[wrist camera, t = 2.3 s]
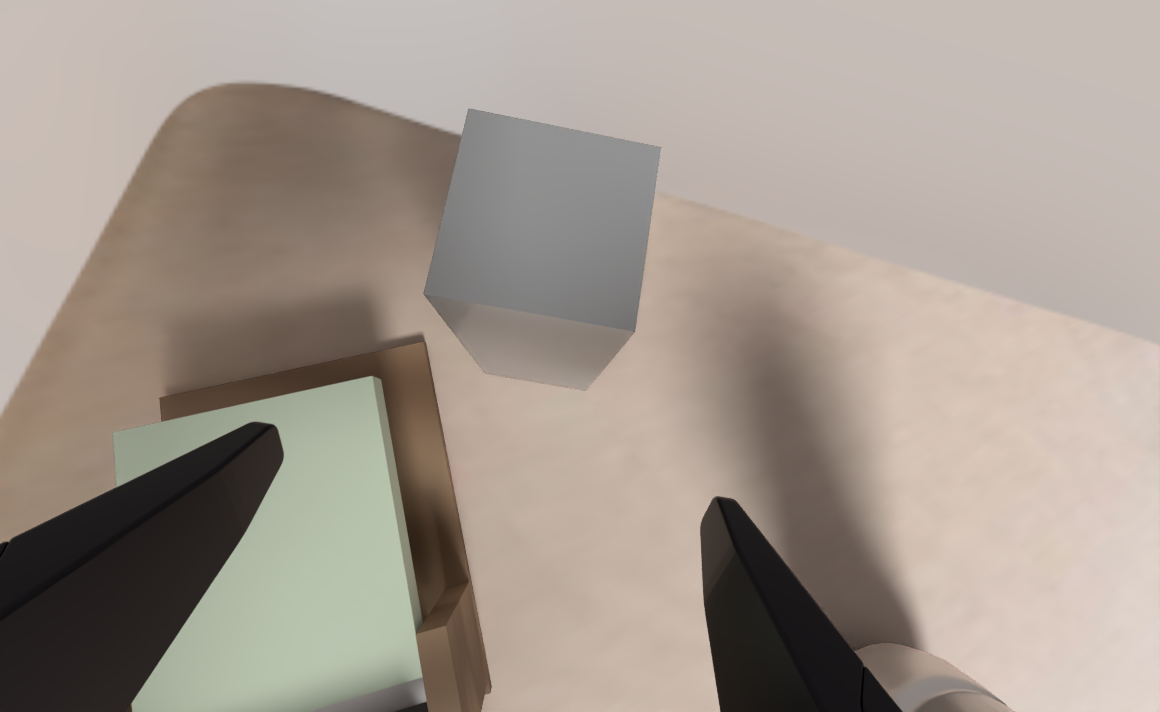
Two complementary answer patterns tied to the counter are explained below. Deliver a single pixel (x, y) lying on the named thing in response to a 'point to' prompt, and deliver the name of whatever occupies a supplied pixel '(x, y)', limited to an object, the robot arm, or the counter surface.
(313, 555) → the trapdoor
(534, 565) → the counter surface
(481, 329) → the grey rectangular block
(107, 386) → the counter surface
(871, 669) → the plastic bottle
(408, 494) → the frame
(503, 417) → the counter surface
